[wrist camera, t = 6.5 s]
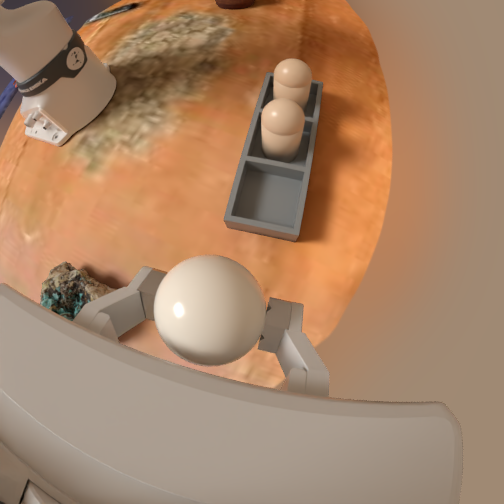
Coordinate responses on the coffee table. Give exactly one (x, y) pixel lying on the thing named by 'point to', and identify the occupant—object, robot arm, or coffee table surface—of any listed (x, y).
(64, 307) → the mineral specimen
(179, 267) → the cream round-topped peg
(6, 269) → the coffee table surface
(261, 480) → the robot arm
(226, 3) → the ceramic pot
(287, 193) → the carton
